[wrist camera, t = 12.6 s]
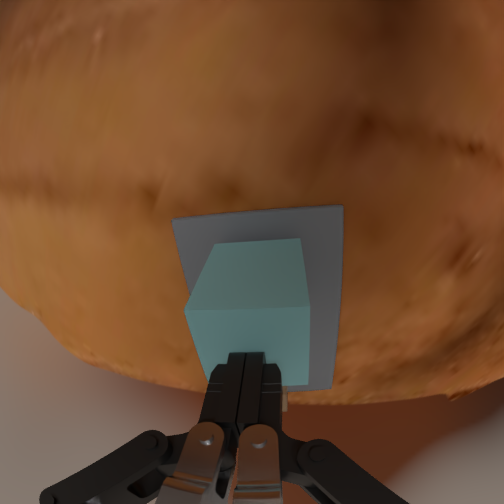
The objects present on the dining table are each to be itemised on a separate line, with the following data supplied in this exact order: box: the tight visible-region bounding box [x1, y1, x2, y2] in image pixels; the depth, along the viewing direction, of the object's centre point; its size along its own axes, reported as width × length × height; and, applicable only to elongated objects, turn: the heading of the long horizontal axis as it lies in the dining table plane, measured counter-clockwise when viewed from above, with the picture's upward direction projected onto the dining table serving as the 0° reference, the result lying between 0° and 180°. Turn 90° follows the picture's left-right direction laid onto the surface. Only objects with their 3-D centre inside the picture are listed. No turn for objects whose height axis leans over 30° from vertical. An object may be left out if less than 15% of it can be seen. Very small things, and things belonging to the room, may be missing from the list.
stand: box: [171, 205, 343, 412], centre depth 18 cm, size 18×11×7 cm, turn 7°
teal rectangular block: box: [184, 238, 310, 386], centre depth 15 cm, size 5×5×7 cm
